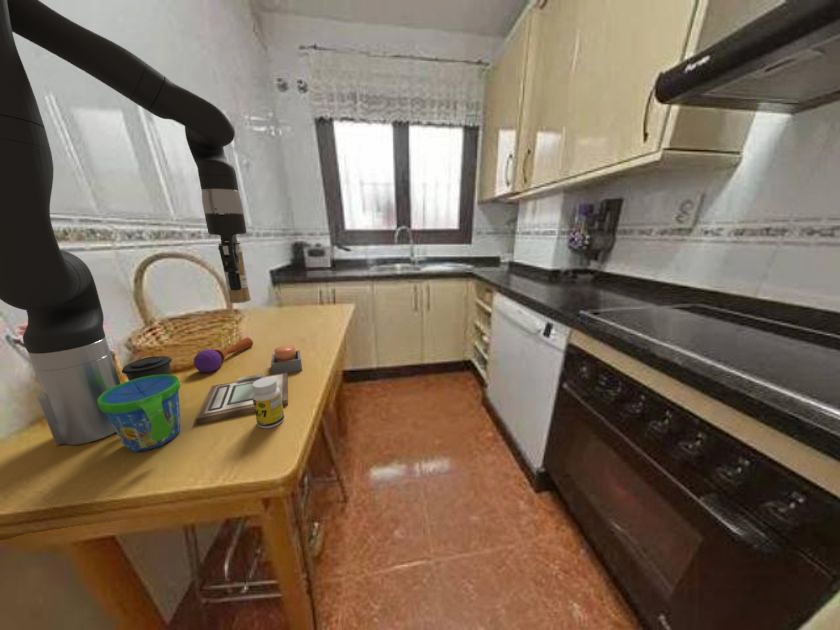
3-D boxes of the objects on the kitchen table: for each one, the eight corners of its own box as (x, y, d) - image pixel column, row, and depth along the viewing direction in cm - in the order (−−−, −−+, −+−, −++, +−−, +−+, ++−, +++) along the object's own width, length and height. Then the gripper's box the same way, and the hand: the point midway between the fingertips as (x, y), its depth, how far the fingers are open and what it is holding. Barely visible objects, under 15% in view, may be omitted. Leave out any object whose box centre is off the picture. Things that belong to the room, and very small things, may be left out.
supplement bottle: (251, 425, 59) (243, 384, 57) (273, 412, 63) (266, 374, 61) (268, 432, 57) (261, 390, 55) (290, 418, 61) (283, 378, 59)
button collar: (272, 375, 79) (270, 364, 78) (273, 364, 85) (272, 354, 84) (302, 370, 81) (300, 359, 81) (301, 360, 88) (299, 350, 87)
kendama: (257, 335, 98) (210, 356, 78) (256, 353, 99) (209, 378, 80) (239, 331, 98) (188, 351, 79) (238, 349, 99) (187, 373, 80)
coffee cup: (154, 415, 63) (141, 369, 60) (123, 411, 65) (108, 367, 62) (190, 394, 71) (180, 353, 68) (161, 391, 72) (150, 351, 70)
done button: (276, 367, 80) (274, 353, 79) (276, 360, 84) (274, 347, 83) (297, 364, 82) (295, 350, 81) (296, 357, 86) (294, 344, 85)
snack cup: (201, 443, 54) (187, 391, 51) (118, 478, 47) (97, 419, 44) (182, 410, 65) (170, 364, 62) (112, 434, 57) (95, 384, 55)
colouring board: (197, 424, 60) (195, 414, 59) (213, 390, 72) (211, 382, 72) (288, 404, 66) (286, 396, 65) (287, 376, 78) (286, 369, 77)
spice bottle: (253, 301, 75) (244, 243, 72) (232, 304, 72) (221, 244, 69) (247, 298, 78) (238, 243, 75) (227, 301, 75) (216, 244, 72)
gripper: (211, 214, 75) (224, 284, 79) (196, 210, 62) (213, 295, 67) (246, 213, 78) (257, 282, 82) (239, 210, 65) (252, 292, 69)
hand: (237, 287), depth 74 cm, fingers closed on spice bottle, 4 cm apart
